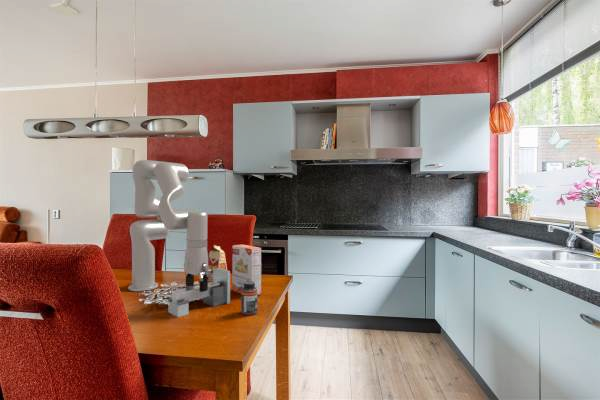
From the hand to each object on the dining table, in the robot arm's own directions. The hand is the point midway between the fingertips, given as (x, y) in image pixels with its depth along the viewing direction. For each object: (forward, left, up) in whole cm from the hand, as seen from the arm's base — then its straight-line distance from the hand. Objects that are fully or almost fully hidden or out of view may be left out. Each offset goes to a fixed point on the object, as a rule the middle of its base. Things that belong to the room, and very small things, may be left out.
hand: (196, 288), depth 120 cm
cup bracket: (0, +8, -8) cm, 11 cm away
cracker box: (-1, +25, -8) cm, 26 cm away
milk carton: (-21, +23, -8) cm, 32 cm away
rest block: (0, -7, -8) cm, 11 cm away
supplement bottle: (+19, +10, -8) cm, 23 cm away
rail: (0, 0, -4) cm, 4 cm away
